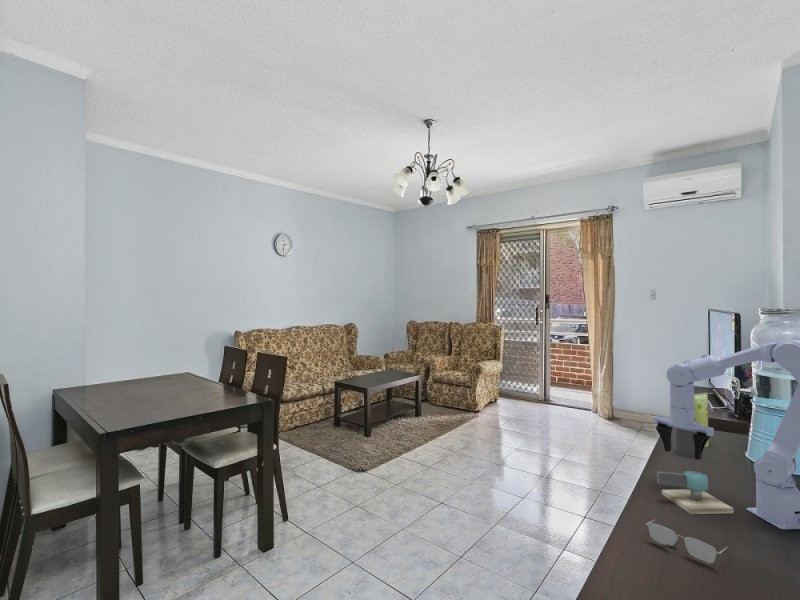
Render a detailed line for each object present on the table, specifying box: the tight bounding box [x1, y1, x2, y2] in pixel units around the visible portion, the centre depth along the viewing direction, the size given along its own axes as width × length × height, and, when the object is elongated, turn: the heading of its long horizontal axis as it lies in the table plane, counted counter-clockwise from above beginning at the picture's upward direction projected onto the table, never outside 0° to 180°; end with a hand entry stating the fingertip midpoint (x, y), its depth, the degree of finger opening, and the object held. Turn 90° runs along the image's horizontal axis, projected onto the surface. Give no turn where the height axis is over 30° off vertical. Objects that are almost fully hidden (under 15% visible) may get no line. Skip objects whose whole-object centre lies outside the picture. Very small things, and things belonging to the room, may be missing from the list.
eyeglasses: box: [645, 518, 731, 564], centre depth 92 cm, size 14×8×4 cm, turn 37°
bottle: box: [675, 413, 697, 458], centre depth 145 cm, size 6×6×15 cm
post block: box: [661, 488, 735, 515], centre depth 110 cm, size 11×11×4 cm
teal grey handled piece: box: [656, 470, 709, 492], centre depth 111 cm, size 12×5×3 cm, turn 77°
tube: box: [694, 392, 710, 448], centre depth 153 cm, size 6×5×20 cm
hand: (682, 454), depth 119 cm, fingers open, 7 cm apart
